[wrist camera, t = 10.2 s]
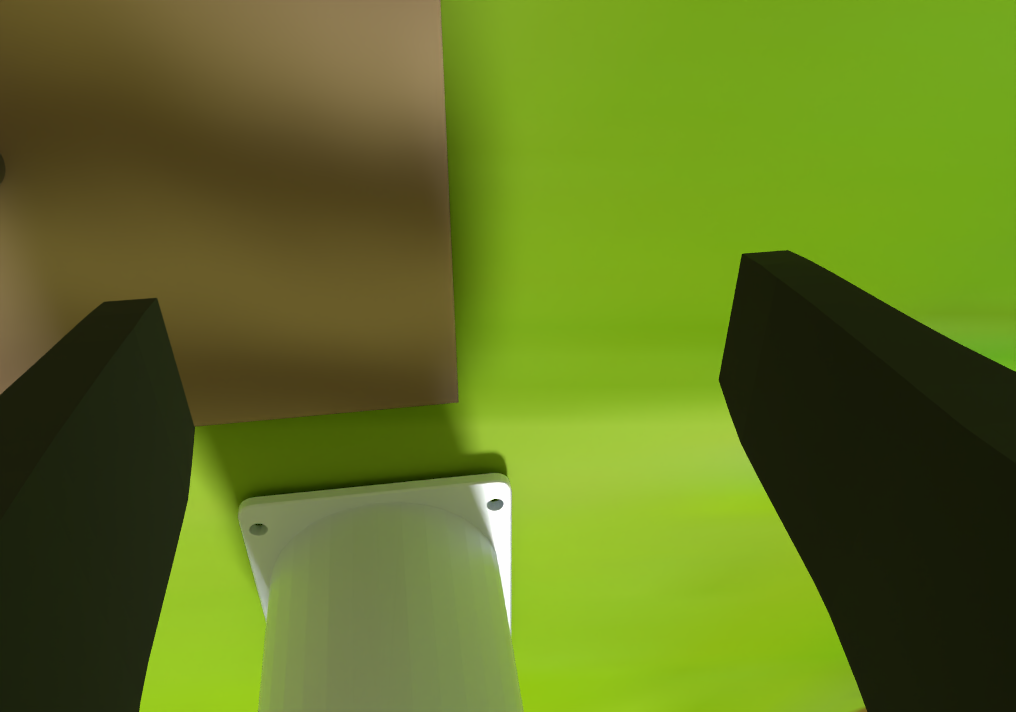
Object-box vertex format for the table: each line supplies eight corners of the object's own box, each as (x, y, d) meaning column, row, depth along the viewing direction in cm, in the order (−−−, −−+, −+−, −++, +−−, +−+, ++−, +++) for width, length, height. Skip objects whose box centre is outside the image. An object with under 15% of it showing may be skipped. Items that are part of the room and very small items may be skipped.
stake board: (454, 378, 24) (483, 568, 19) (-172, 434, 22) (-332, 661, 17) (422, -304, 15) (460, -304, 10) (-638, -303, 13) (-1281, -301, 8)
